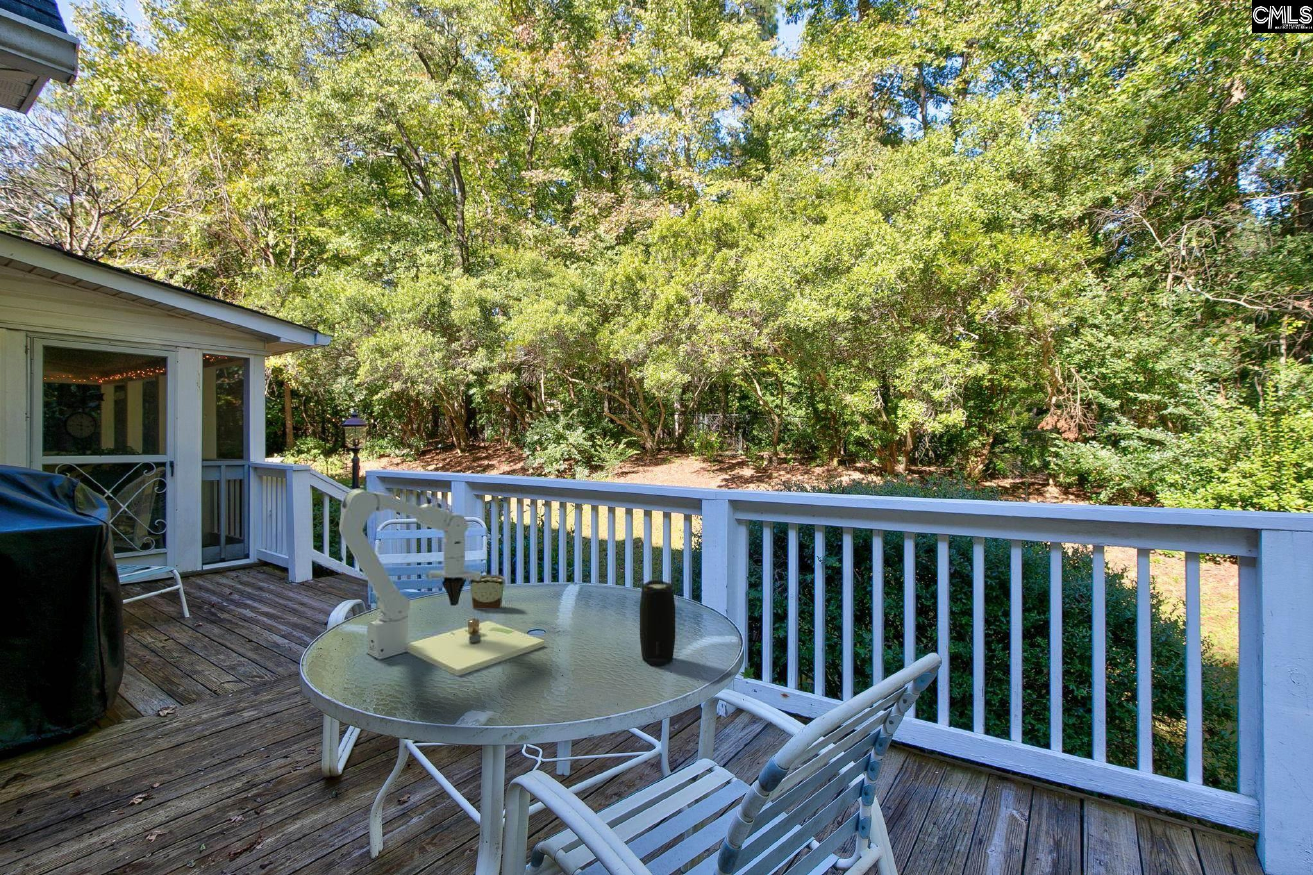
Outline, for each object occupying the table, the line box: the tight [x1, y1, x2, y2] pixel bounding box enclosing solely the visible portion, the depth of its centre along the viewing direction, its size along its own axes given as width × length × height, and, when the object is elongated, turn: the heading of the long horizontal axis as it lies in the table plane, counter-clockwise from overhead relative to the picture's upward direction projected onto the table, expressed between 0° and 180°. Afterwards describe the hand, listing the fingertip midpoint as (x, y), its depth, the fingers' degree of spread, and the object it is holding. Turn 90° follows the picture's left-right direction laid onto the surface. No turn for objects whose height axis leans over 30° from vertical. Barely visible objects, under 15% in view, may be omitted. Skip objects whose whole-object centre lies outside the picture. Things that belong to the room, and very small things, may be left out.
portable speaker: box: [639, 579, 676, 667], centre depth 150 cm, size 9×9×20 cm
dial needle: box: [467, 618, 481, 643], centre depth 163 cm, size 12×3×3 cm, turn 20°
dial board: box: [406, 620, 545, 677], centre depth 159 cm, size 26×26×2 cm
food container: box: [468, 574, 507, 610], centre depth 197 cm, size 12×6×10 cm, turn 84°
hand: (454, 604), depth 167 cm, fingers closed
